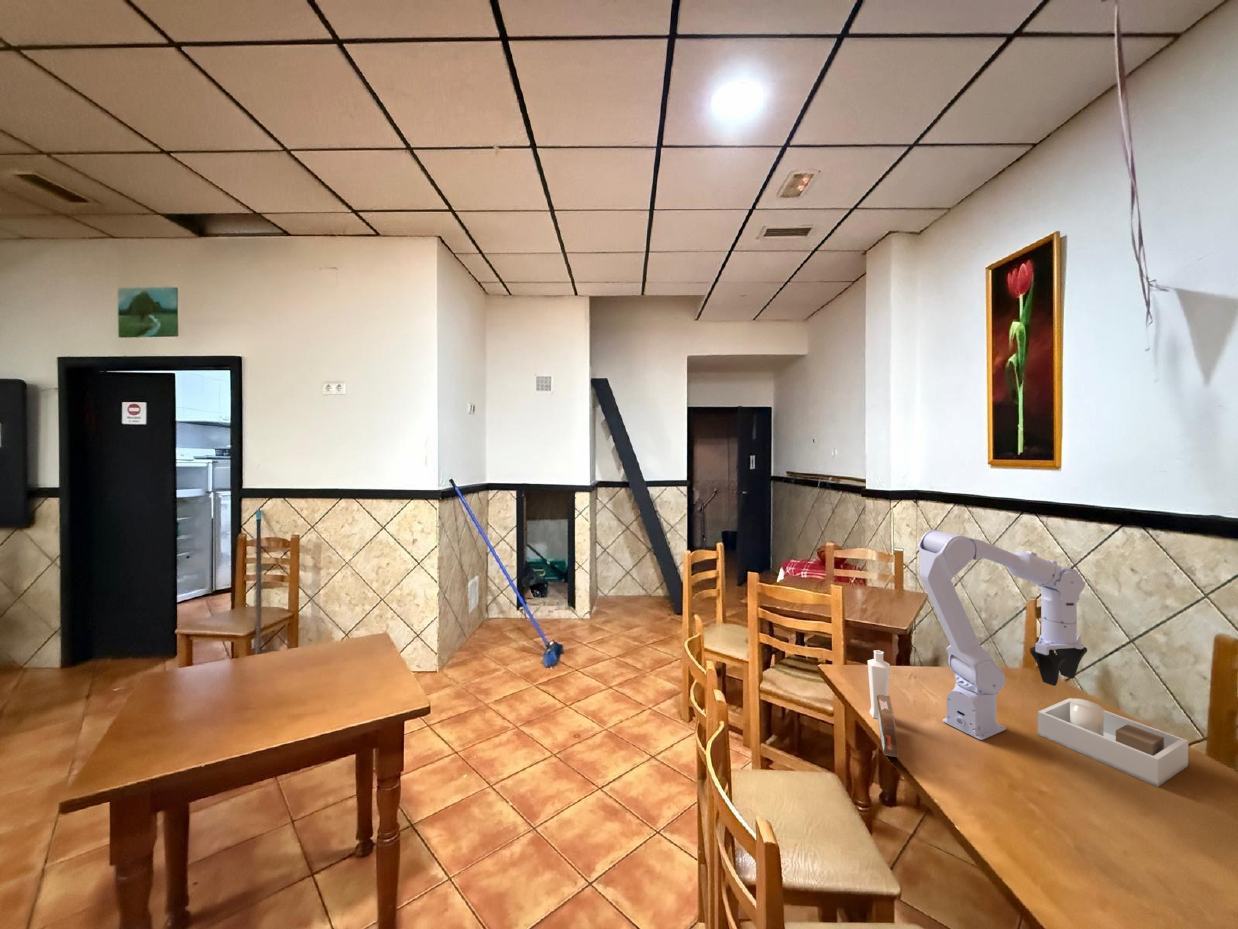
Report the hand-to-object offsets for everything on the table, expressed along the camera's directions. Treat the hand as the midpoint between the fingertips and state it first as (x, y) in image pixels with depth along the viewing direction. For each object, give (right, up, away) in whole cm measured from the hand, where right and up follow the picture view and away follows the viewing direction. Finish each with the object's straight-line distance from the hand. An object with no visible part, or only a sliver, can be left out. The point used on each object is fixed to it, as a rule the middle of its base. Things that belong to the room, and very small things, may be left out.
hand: (1058, 680), depth 103 cm
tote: (+3, -11, -8) cm, 13 cm away
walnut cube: (+4, -10, -12) cm, 16 cm away
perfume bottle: (-37, -11, +5) cm, 39 cm away
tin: (-41, -11, -5) cm, 43 cm away
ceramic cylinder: (+1, -10, -5) cm, 11 cm away
